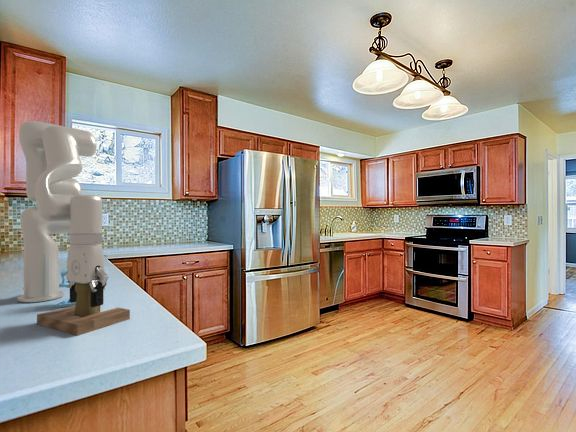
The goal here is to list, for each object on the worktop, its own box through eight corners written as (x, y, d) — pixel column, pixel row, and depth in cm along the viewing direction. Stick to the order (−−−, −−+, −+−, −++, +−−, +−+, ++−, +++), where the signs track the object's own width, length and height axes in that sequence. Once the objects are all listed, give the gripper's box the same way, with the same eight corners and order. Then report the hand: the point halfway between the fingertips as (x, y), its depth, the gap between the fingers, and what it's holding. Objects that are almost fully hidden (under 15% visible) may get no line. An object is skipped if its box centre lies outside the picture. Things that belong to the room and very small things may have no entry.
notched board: (36, 323, 85) (36, 314, 85) (89, 310, 98) (89, 301, 98) (77, 335, 77) (77, 325, 77) (129, 318, 89) (129, 309, 89)
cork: (86, 325, 84) (86, 283, 84) (67, 323, 85) (67, 282, 85) (104, 317, 90) (104, 278, 90) (85, 316, 91) (85, 277, 91)
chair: (83, 307, 101) (84, 268, 101) (54, 308, 100) (54, 269, 100) (94, 300, 109) (94, 265, 109) (67, 301, 107) (67, 265, 107)
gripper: (53, 240, 88) (53, 303, 88) (92, 242, 80) (92, 311, 80) (81, 238, 95) (81, 297, 95) (120, 240, 87) (119, 304, 87)
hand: (86, 303), depth 88 cm, fingers open, 8 cm apart
